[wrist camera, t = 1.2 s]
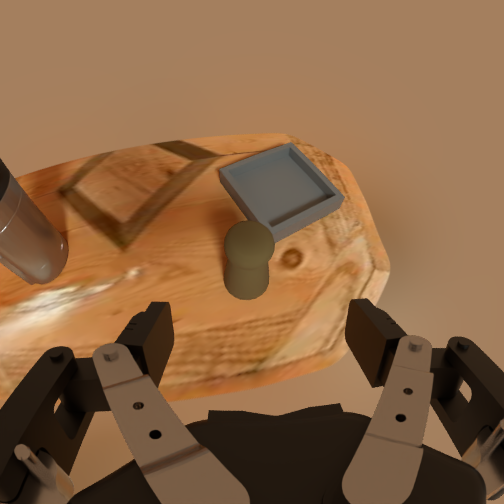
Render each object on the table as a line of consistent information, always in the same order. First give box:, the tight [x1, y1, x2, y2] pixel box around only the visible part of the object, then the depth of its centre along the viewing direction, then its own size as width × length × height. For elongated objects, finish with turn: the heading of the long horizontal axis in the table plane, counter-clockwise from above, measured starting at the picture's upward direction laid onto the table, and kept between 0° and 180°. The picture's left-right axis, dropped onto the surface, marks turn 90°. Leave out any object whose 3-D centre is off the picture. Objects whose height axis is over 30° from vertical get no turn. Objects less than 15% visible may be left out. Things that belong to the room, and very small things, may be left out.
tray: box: [219, 142, 345, 243], centre depth 42 cm, size 14×14×3 cm
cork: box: [224, 220, 275, 300], centre depth 32 cm, size 6×6×11 cm
